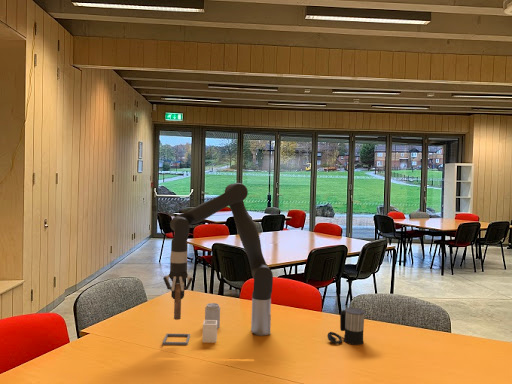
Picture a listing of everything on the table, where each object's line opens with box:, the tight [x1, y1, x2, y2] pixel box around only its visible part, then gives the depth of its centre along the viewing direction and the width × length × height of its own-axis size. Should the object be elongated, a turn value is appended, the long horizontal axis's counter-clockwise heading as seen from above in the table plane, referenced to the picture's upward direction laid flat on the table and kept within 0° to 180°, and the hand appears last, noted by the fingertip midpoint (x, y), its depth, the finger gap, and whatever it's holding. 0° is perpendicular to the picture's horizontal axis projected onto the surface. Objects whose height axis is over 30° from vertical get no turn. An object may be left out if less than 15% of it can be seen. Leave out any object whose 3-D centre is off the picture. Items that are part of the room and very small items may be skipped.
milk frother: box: [327, 307, 366, 346], centre depth 207 cm, size 14×16×15 cm
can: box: [204, 302, 221, 329], centre depth 220 cm, size 8×8×12 cm
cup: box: [201, 319, 218, 344], centre depth 202 cm, size 6×6×9 cm
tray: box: [162, 333, 191, 347], centre depth 201 cm, size 11×11×2 cm
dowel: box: [173, 283, 182, 321], centre depth 200 cm, size 3×3×16 cm
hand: (177, 298), depth 200 cm, fingers closed on dowel, 3 cm apart
